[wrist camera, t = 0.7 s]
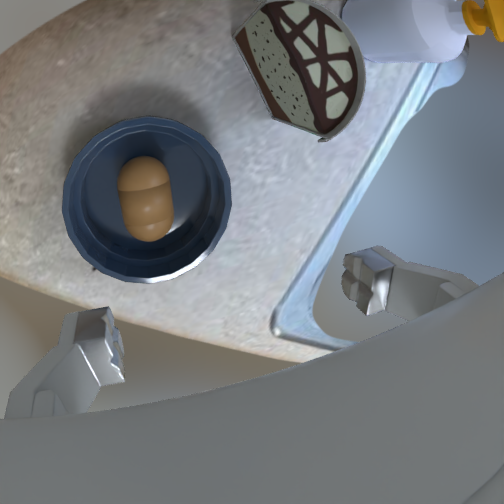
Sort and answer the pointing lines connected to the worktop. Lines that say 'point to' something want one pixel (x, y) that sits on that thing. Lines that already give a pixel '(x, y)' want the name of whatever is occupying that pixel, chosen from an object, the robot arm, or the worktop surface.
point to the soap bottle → (419, 27)
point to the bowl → (183, 196)
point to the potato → (145, 198)
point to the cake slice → (304, 65)
